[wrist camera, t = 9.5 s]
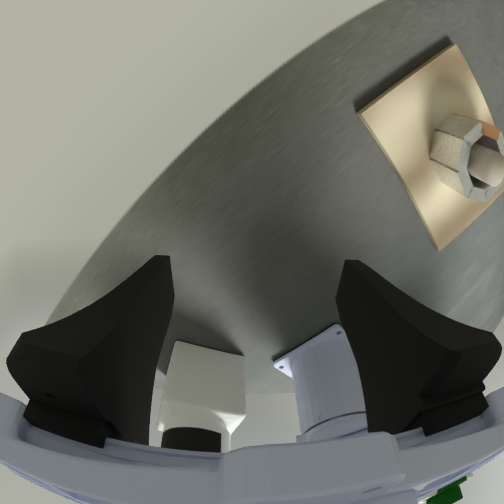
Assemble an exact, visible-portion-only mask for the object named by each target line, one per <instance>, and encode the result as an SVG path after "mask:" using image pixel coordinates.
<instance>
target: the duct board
mask: <svg viewBox="0 0 504 504" xmlns="http://www.w3.org/2000/svg"><path fill="white" fill-rule="evenodd" d="M450 114H457V115H461V116H465V117H469V118H473V119H477V120H481V121H484V122H486V123H488V124H490V125H493V126H495V125H494V122H493V120H492V117H491V114H490V112H489V109H488V107H487V104H486V102H485V100H484V97H483V95H482V93H481V91H480V89H479V86H478V84H477V82H476V80H475V78H474V76H473V74H472V72H471V70H470V68H469V66H468V64H467V62H466V61H465V59H464V57H463V55H462V53H461V52H460V50H459V48H458V46H457V45H456V44H451V45H449V46H447V47H446V48H444V49H443V50H442V51H440V52H439V53H437V54H436V55H434V56H433V57H432V58H430V59H429V60H427V61H426V62H424V63H423V64H422V65H420V66H419V67H417V68H416V69H415V70H413V71H412V72H411V73H409V74H408V75H406V76H405V77H404V78H402V79H401V80H400V81H398V82H397V83H396V84H394V85H393V86H392V87H390V88H389V89H387V90H386V91H385V92H383V93H382V94H381V95H380V96H378V97H377V98H376V99H374V100H373V101H372V102H370V103H369V104H368V105H366V106H365V107H364V108H362V109H361V110H360V111H359V112H357V115H358V116H359V117H360V119H361V120H362V122H363V123H364V124H365V126H366V127H367V129H368V130H369V132H370V133H371V135H372V136H373V137H374V139H375V140H376V142H377V143H378V145H379V146H380V148H381V150H382V151H383V153H384V154H385V156H386V157H387V159H388V161H389V162H390V164H391V165H392V167H393V169H394V170H395V172H396V174H397V175H398V177H399V179H400V180H401V182H402V184H403V186H404V187H405V189H406V191H407V193H408V195H409V196H410V198H411V200H412V202H413V204H414V206H415V208H416V210H417V211H418V213H419V215H420V217H421V219H422V221H423V223H424V225H425V227H426V229H427V231H428V234H429V236H430V238H431V240H432V242H433V244H434V246H435V248H436V249H437V250H438V251H441V250H442V249H443V248H444V247H445V246H446V245H448V244H449V243H450V242H451V241H452V240H453V239H454V238H456V237H457V236H458V235H459V234H460V233H461V232H462V231H463V230H464V229H466V228H467V227H468V226H469V225H470V224H471V223H472V222H473V221H474V220H475V219H476V218H477V217H478V216H479V215H480V214H481V213H482V212H483V211H484V210H486V209H487V208H488V207H489V206H490V205H491V204H492V203H493V202H494V201H495V199H496V198H497V197H498V196H499V195H500V194H501V193H502V192H503V191H504V183H502V186H501V187H500V188H499V190H498V191H497V192H496V193H495V194H494V195H493V196H492V197H491V198H490V199H489V200H488V201H485V202H483V201H479V200H474V199H468V198H467V197H465V196H463V195H462V194H460V193H459V192H457V191H455V190H454V189H452V188H450V187H449V186H447V185H445V184H444V183H442V182H441V181H440V180H439V178H438V176H437V174H436V172H435V170H434V168H433V166H432V164H431V162H430V159H431V158H430V157H429V155H430V149H431V142H432V135H433V130H435V127H436V126H437V125H438V124H440V123H441V122H442V121H443V120H444V119H445V118H447V117H448V116H449V115H450ZM435 131H436V130H435ZM467 171H468V174H470V175H472V176H474V177H476V178H477V179H479V180H481V181H483V182H485V183H487V184H488V185H490V186H493V187H495V186H498V185H499V184H500V183H501V182H502V180H503V178H504V157H503V155H502V154H501V153H499V152H496V151H494V150H491V149H489V148H486V147H484V146H481V145H479V144H476V143H474V144H473V145H472V146H471V148H470V154H469V159H468V165H467Z"/></svg>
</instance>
